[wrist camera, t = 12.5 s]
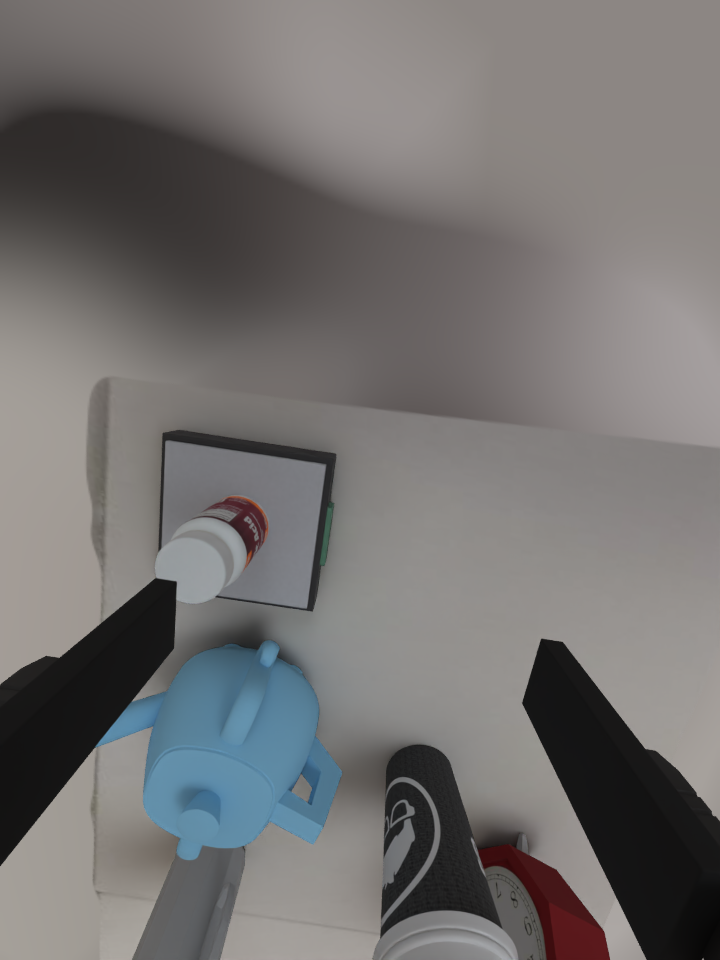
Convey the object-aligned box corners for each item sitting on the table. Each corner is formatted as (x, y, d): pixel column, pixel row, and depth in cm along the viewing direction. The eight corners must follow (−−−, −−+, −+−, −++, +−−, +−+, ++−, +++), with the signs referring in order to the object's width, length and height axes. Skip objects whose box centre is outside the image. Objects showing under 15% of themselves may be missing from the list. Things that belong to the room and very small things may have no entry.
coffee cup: (386, 817, 38) (398, 1075, 24) (358, 744, 37) (352, 976, 22) (477, 797, 38) (546, 1051, 23) (453, 721, 36) (512, 945, 21)
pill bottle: (271, 552, 29) (234, 612, 21) (211, 550, 29) (151, 609, 21) (270, 494, 28) (230, 533, 20) (207, 492, 28) (142, 530, 20)
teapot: (376, 652, 34) (381, 780, 23) (313, 784, 38) (289, 954, 26) (169, 575, 33) (62, 670, 22) (123, 719, 36) (10, 867, 25)
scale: (178, 429, 30) (158, 433, 27) (341, 454, 30) (338, 460, 28) (172, 575, 33) (153, 592, 30) (321, 596, 33) (316, 616, 30)
